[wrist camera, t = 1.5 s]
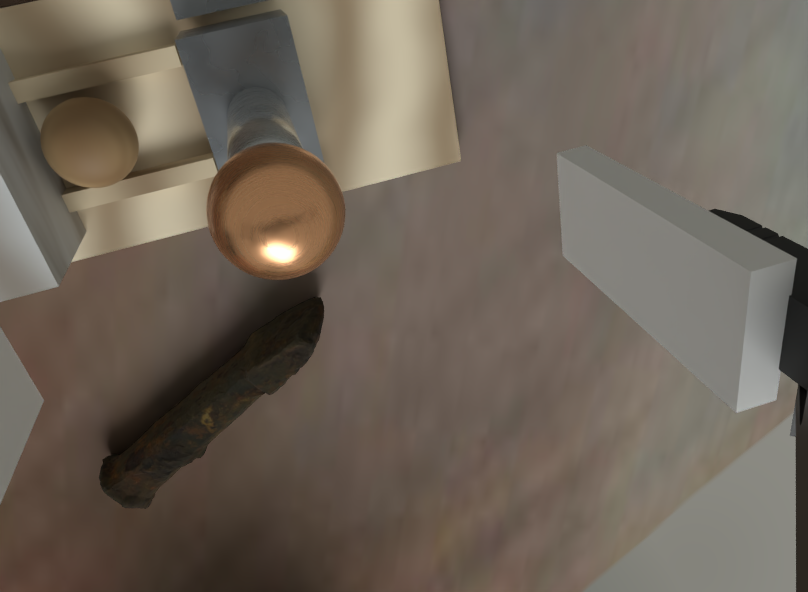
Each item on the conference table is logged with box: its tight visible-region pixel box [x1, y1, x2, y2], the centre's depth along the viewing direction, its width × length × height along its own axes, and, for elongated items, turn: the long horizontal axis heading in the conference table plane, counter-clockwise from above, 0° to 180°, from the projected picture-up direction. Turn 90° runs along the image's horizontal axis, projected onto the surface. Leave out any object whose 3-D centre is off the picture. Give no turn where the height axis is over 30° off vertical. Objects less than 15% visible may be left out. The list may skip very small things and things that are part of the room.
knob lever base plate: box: [0, 0, 461, 302], centre depth 32 cm, size 28×13×8 cm, turn 100°
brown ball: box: [40, 97, 139, 188], centre depth 32 cm, size 4×4×4 cm
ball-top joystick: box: [170, 0, 345, 280], centre depth 26 cm, size 5×12×20 cm, turn 10°
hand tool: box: [99, 297, 324, 509], centre depth 43 cm, size 19×4×5 cm, turn 127°
